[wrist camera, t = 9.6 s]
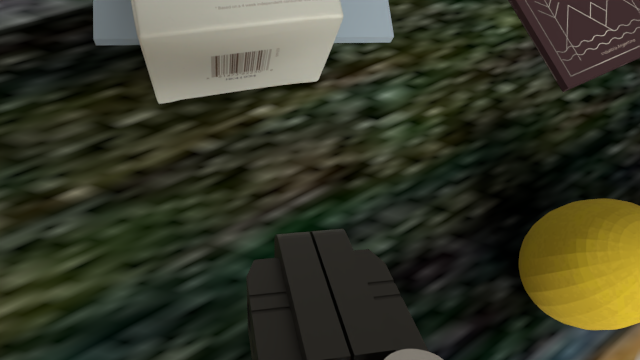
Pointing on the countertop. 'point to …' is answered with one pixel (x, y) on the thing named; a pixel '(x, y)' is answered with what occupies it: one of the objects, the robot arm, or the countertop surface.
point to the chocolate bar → (582, 35)
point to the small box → (233, 43)
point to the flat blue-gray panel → (357, 27)
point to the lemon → (585, 264)
